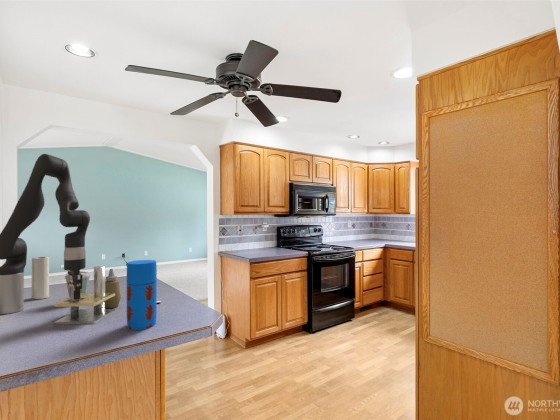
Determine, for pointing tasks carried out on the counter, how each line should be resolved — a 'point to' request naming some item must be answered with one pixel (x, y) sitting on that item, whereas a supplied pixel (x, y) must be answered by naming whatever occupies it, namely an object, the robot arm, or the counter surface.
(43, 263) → the paper towel roll
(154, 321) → the thermos
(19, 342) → the counter surface
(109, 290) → the squeeze bottle
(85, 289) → the disposable coffee cup
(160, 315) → the counter surface
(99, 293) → the tan and silver stand
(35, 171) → the robot arm
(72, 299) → the copper-capped metal rod
